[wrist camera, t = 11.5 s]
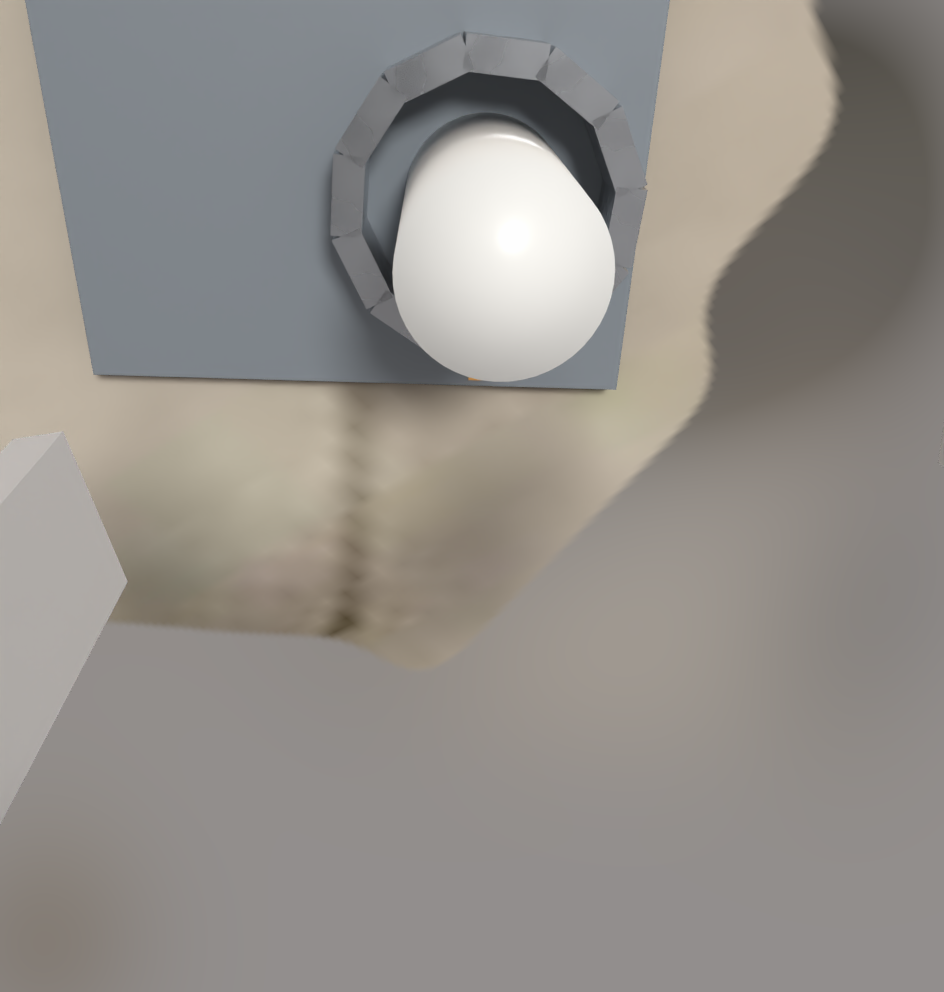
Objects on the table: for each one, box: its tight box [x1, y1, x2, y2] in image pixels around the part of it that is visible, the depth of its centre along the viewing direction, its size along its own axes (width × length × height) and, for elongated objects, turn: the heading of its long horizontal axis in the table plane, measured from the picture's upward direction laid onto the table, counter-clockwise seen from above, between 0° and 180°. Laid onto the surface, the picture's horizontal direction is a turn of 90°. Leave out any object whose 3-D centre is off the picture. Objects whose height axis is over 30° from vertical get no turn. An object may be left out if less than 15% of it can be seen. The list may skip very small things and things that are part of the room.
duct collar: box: [330, 31, 647, 347], centre depth 29 cm, size 10×10×2 cm
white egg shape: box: [392, 112, 615, 382], centre depth 26 cm, size 6×6×10 cm
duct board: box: [25, 0, 670, 390], centre depth 30 cm, size 20×14×1 cm
